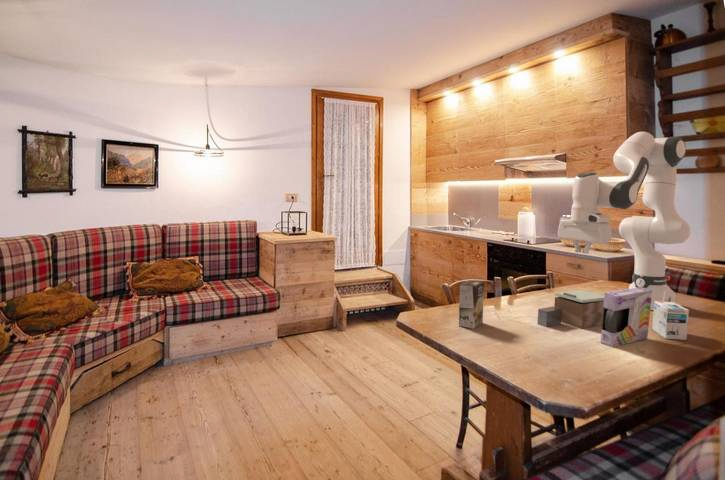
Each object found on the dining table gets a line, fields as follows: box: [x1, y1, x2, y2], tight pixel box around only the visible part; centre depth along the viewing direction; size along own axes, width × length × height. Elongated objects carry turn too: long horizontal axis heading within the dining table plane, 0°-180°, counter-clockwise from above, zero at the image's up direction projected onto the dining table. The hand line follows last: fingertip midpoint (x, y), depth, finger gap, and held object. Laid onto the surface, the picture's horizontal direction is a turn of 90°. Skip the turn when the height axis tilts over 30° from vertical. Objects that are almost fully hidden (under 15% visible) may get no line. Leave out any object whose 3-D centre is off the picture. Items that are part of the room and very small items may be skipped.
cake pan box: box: [600, 287, 652, 348], centre depth 144 cm, size 19×5×18 cm, turn 114°
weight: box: [537, 305, 562, 328], centre depth 163 cm, size 8×4×6 cm, turn 116°
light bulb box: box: [651, 301, 690, 341], centre depth 152 cm, size 11×7×11 cm, turn 168°
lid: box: [554, 289, 604, 303], centre depth 166 cm, size 16×12×2 cm
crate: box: [553, 296, 604, 329], centre depth 167 cm, size 16×12×9 cm
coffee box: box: [458, 280, 485, 330], centre depth 162 cm, size 9×6×16 cm
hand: (581, 252), depth 163 cm, fingers closed
